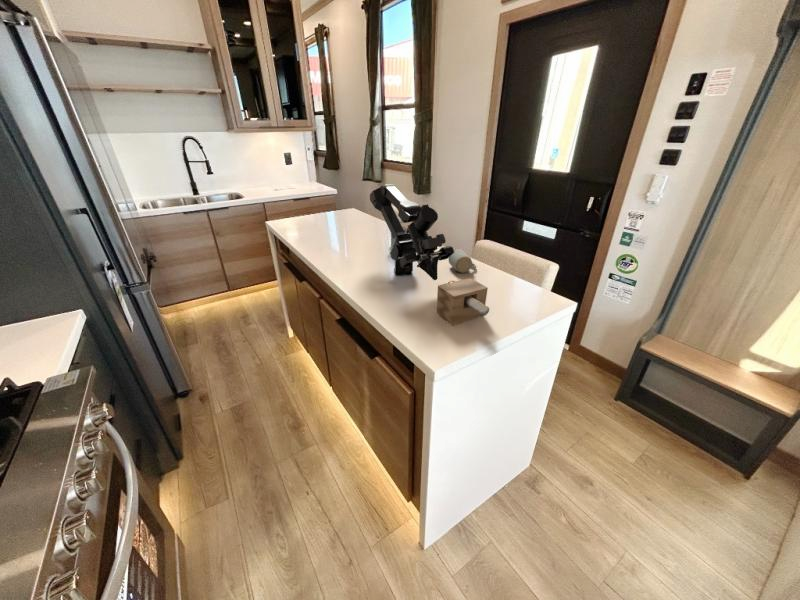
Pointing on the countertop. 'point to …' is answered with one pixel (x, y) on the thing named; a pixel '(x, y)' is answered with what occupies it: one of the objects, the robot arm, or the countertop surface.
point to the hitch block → (459, 300)
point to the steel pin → (475, 304)
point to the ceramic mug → (461, 261)
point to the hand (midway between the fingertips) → (435, 279)
